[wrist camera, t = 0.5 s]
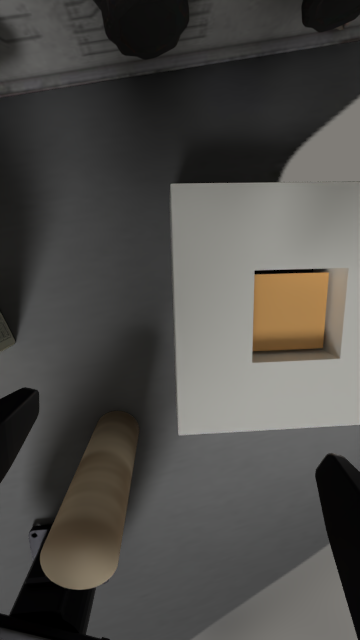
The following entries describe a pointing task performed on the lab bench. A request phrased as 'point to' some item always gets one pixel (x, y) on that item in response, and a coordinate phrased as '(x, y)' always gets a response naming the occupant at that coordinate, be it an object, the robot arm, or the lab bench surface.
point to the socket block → (238, 304)
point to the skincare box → (5, 335)
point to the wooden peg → (94, 508)
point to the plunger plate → (289, 311)
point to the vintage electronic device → (155, 36)
